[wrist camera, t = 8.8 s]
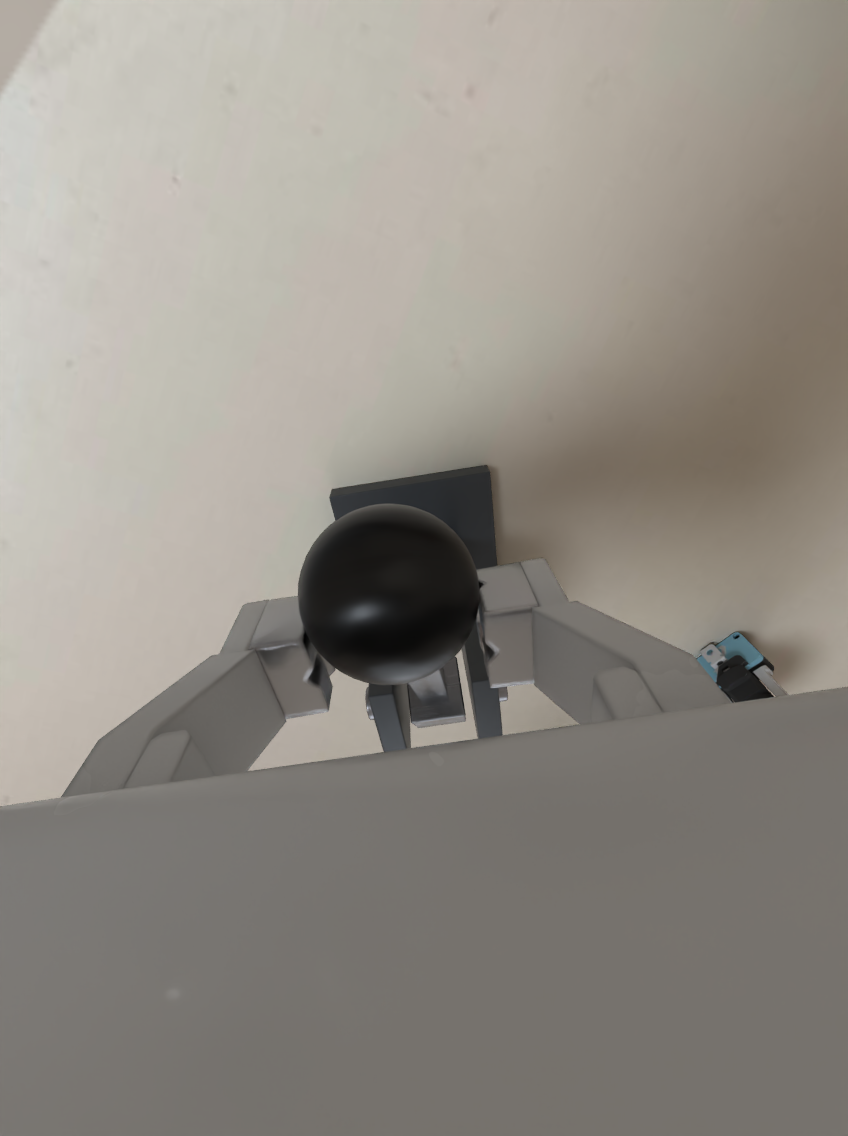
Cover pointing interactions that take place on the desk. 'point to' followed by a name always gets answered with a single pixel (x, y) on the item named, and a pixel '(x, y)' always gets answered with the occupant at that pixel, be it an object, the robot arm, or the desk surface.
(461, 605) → the switch lever
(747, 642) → the push button
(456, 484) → the switch bracket
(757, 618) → the desk surface
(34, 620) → the desk surface
